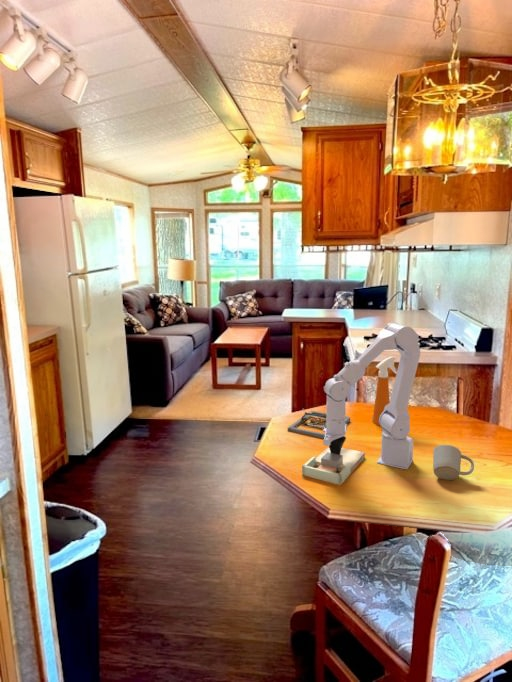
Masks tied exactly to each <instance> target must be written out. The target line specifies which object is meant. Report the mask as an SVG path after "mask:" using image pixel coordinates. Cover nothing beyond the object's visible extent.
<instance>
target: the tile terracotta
mask: <svg viewBox="0 0 512 682" xmlns="http://www.w3.org/2000/svg"><path fill="white" fill-rule="evenodd" d="M317 469H322V470H326V471H330V472H334V473H337V471H336V468H333V467H329V466H325V465H320V466H317Z"/></svg>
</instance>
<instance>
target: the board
mask: <svg viewBox="0 0 512 682" xmlns="http://www.w3.org/2000/svg"><path fill="white" fill-rule="evenodd" d="M327 452H329V453H331V452H330V448H329V446H327V447H326V448H325V449H324V450H323V451H322V452H321V453H320V454H319V455H318V456H316V466H317V467H319V466H320V465H321V458H322V457H323V456H324V455H325V454H326V453H327ZM340 455H343V463H342V464H341V465H340V466H339V467H338V469H337V470H336V472H339V473H340V472H341V471H342V470H343V469H344V468H345V466H346V465H347V464H350V475H351V474H352V472H354V470H355V469H356V468H357V467H358V466H359V465H360V463H361V462H362V461H363V460H364V459H365V456H366V452H364V451H360V450H355V449H349V448H344V447H342V448H341V452H340ZM316 466H315V467H316Z"/></svg>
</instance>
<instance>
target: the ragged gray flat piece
mask: <svg viewBox="0 0 512 682" xmlns="http://www.w3.org/2000/svg"><path fill="white" fill-rule="evenodd" d="M317 409H319V407H317ZM324 409H325V408H324ZM324 409H323V411H324ZM301 411H304V408H302V410H301ZM305 415H306V416H307V417H308V418H306V417H305ZM304 417H305V418H304ZM309 417H310V418H309ZM300 419H301V421H302V420H303V421H304V420H306V421H304V424H307V425H306V426H309V427H314V428H321V429H323V428H324V427H325V428H326V416H323V415H316V414H311V413H309V412H306V411H304V415H303V416H301V417H300ZM307 421H311V422H310V423H308V422H307ZM312 422H315V423H312ZM317 423H320V424H317ZM321 423H322V424H321ZM313 424H314V425H313Z"/></svg>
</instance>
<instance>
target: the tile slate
mask: <svg viewBox="0 0 512 682" xmlns="http://www.w3.org/2000/svg"><path fill="white" fill-rule="evenodd" d="M342 463H343V455H338V454H334V453H329V452H327V453H326V454H325V455H324V456H323V457H322V458H321V465H325V466H329V467H333V468H336V470H337V469H338V467H339V466H340V465H341V464H342Z"/></svg>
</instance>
